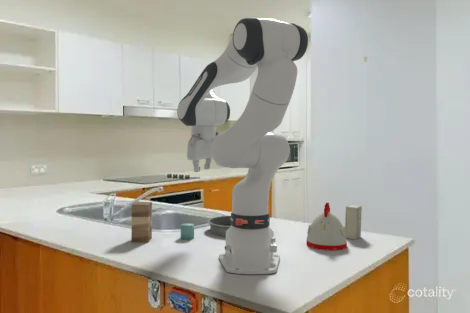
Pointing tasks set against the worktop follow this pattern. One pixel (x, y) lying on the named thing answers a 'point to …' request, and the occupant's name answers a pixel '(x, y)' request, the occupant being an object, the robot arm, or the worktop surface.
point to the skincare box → (353, 221)
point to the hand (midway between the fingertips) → (202, 170)
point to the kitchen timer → (326, 232)
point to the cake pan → (220, 225)
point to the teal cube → (187, 231)
